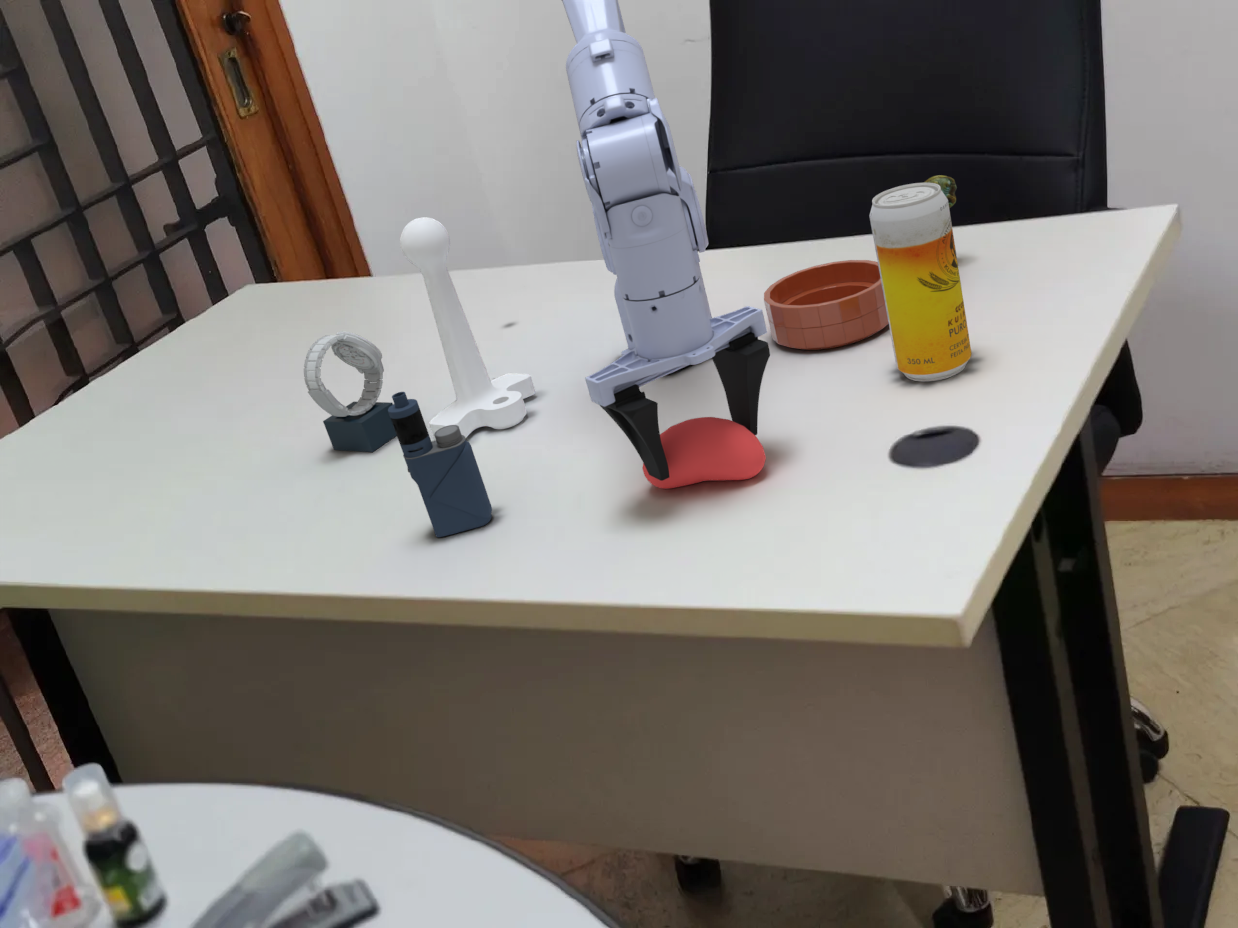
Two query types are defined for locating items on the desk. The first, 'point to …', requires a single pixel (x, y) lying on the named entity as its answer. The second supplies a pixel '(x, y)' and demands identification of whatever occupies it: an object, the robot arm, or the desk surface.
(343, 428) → the watch
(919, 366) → the beer can
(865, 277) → the bowl
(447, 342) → the joystick
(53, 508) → the desk surface
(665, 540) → the desk surface
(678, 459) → the red kidney bean
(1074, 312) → the desk surface
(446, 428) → the vaping device
